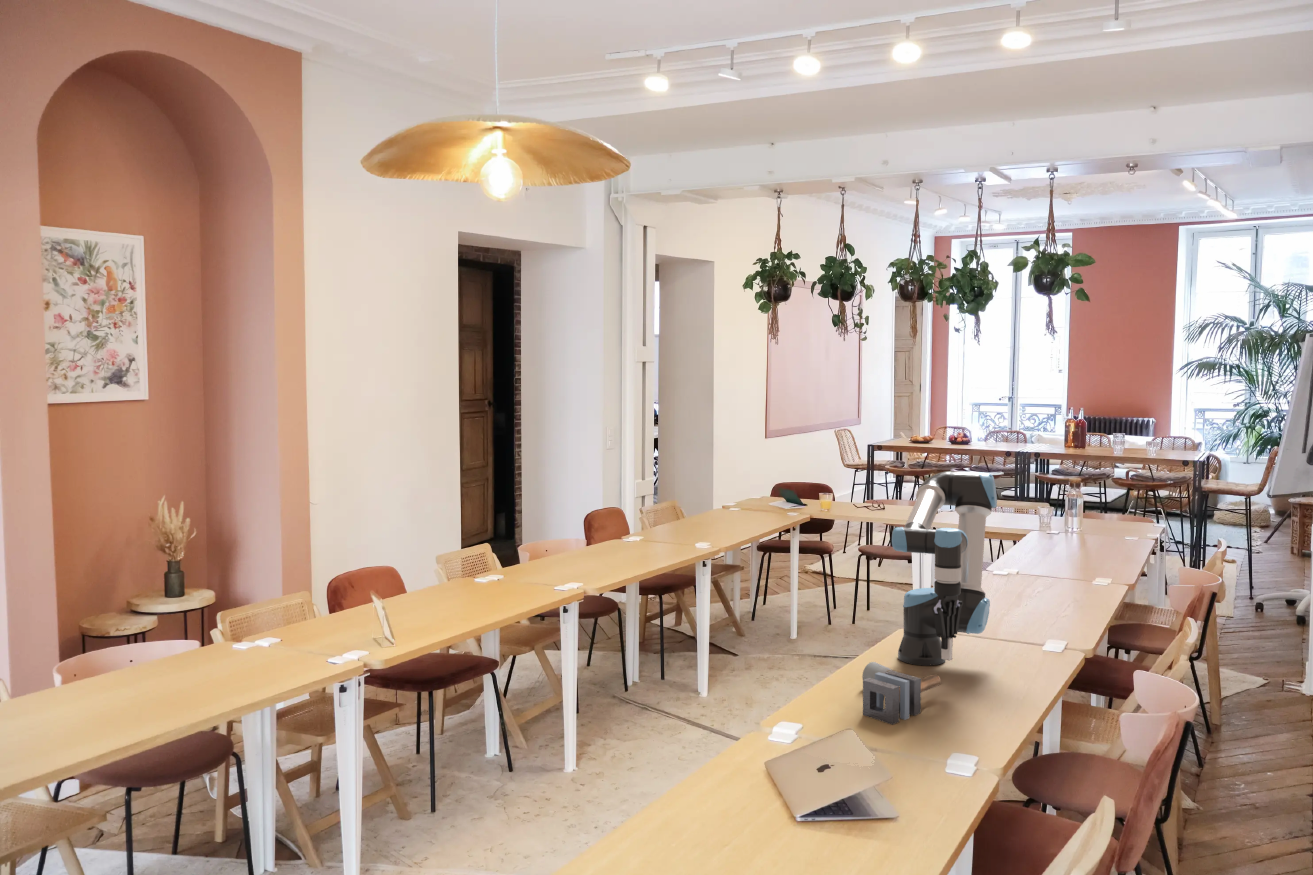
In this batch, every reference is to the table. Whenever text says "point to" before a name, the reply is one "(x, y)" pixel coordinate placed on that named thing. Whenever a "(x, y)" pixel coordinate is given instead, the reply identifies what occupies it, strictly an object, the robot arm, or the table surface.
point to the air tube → (928, 683)
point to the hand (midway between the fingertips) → (946, 659)
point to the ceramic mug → (874, 670)
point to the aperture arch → (903, 693)
